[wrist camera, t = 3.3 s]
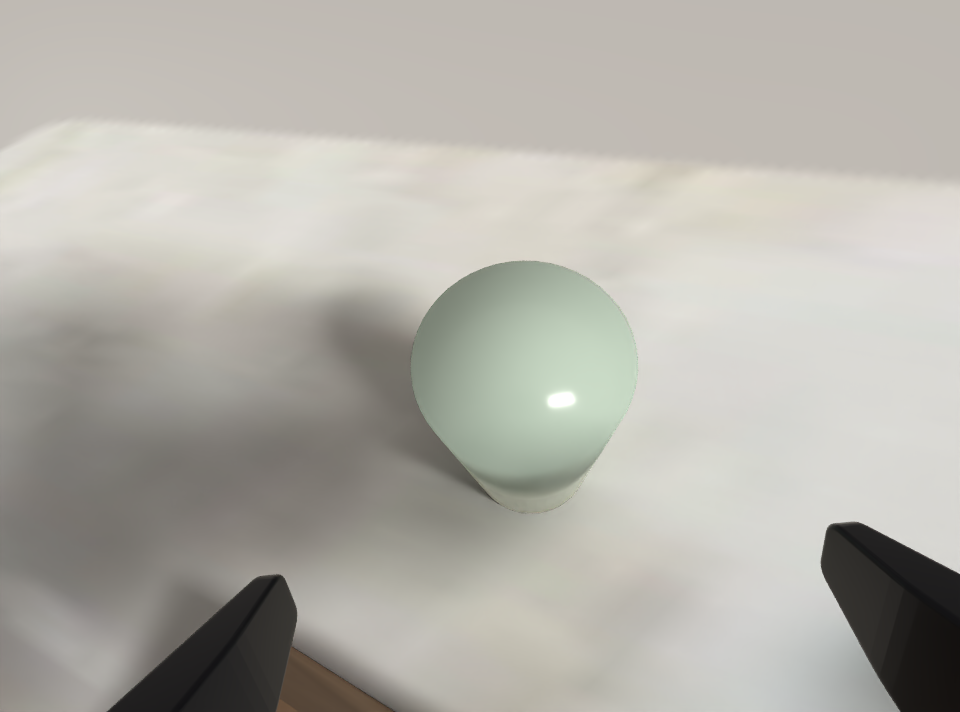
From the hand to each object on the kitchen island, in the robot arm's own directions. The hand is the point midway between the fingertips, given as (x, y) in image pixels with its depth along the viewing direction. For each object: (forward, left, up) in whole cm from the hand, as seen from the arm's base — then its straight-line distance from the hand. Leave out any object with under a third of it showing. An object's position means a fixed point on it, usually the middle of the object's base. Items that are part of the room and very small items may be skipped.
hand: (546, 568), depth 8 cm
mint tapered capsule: (+3, +2, -10) cm, 11 cm away
